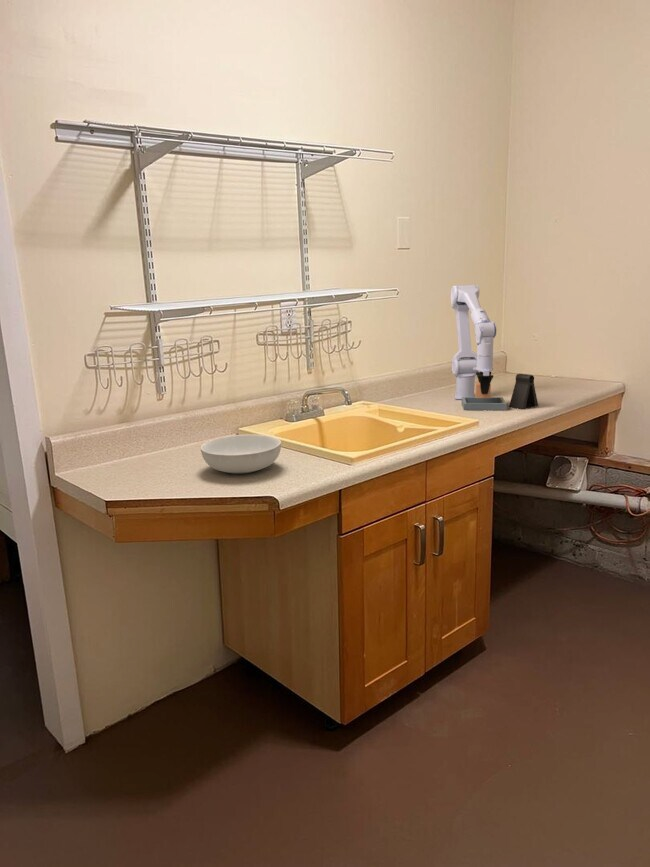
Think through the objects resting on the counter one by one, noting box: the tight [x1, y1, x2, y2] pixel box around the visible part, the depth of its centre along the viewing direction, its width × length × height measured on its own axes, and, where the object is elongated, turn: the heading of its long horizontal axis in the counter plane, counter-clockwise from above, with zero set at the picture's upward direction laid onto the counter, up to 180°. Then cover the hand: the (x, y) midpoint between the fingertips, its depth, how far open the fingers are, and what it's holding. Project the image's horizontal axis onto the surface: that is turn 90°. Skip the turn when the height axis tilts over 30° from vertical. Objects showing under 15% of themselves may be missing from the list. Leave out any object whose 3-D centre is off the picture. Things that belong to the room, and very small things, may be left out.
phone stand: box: [508, 373, 539, 410], centre depth 240 cm, size 9×6×12 cm, turn 124°
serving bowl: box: [199, 434, 282, 474], centre depth 172 cm, size 21×21×7 cm
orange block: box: [474, 381, 492, 398], centre depth 242 cm, size 5×5×5 cm
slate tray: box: [461, 396, 508, 412], centre depth 243 cm, size 13×15×2 cm
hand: (483, 392), depth 242 cm, fingers closed on orange block, 5 cm apart
